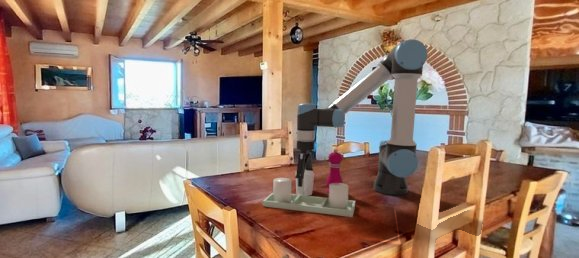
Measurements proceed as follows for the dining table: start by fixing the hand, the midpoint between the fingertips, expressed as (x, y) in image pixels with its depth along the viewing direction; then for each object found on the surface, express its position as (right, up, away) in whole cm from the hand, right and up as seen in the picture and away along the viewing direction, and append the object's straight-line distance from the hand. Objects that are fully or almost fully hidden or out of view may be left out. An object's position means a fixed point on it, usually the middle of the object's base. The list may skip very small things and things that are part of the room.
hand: (304, 189), depth 134 cm
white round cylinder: (+12, -4, -19) cm, 22 cm away
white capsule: (-9, -3, -13) cm, 16 cm away
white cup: (0, -3, 0) cm, 3 cm away
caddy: (+1, -4, -16) cm, 16 cm away
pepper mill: (+13, -3, +3) cm, 14 cm away
